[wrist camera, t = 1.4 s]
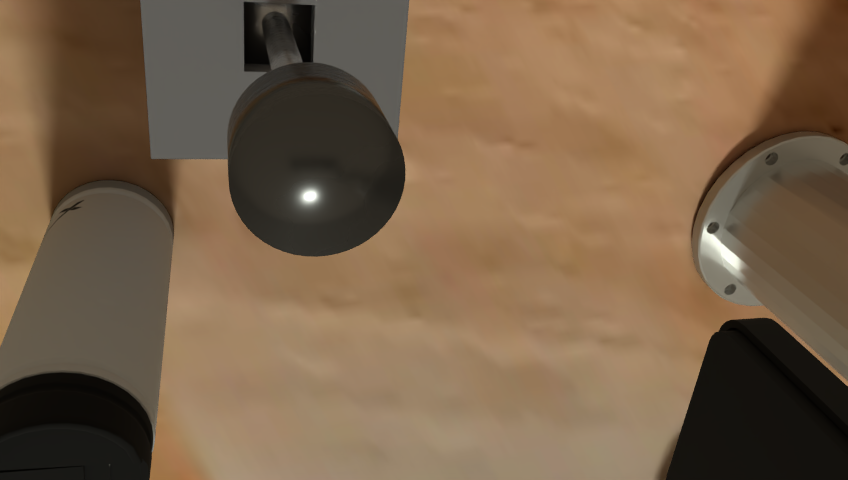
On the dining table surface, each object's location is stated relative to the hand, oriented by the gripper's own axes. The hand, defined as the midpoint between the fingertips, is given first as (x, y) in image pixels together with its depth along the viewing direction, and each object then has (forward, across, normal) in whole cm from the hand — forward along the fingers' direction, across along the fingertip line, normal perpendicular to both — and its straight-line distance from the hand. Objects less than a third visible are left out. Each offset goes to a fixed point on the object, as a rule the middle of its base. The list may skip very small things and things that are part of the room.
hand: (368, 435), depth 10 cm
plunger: (+23, -1, 0) cm, 23 cm away
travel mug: (+34, +7, +14) cm, 37 cm away
